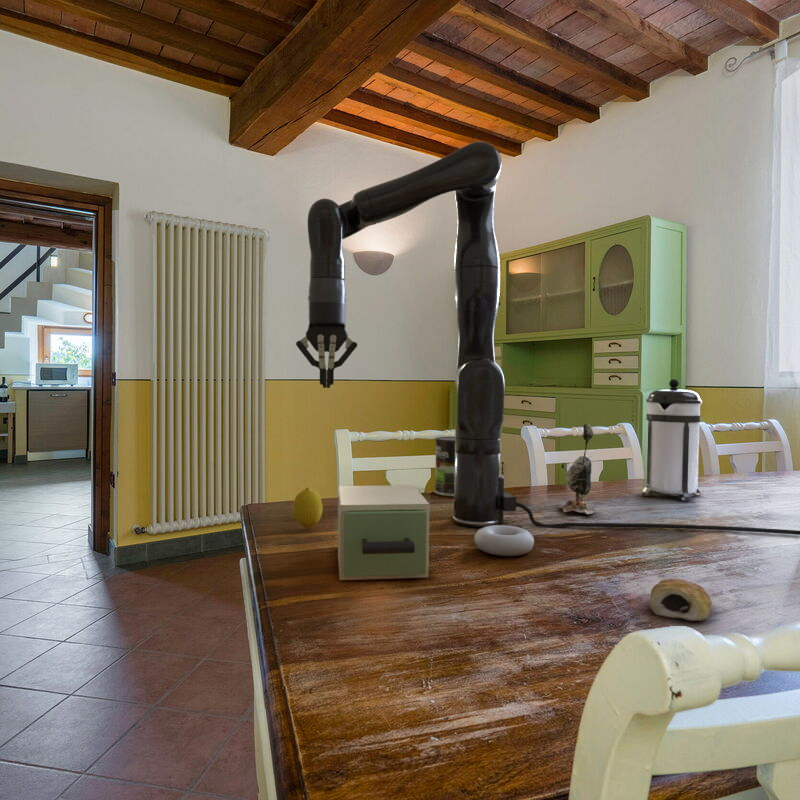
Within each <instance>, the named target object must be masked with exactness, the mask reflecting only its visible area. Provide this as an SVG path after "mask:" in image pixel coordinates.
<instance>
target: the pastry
mask: <svg viewBox="0 0 800 800" xmlns="http://www.w3.org/2000/svg"><path fill="white" fill-rule="evenodd" d="M647 603H648V606H649V608H650V609H651V611H652V613H654V614H655V615H657V616H661V617H665V618H672V619H682V620H685V621H691V622H692V621H693V622H695V621H698V622H702V621H704V620H707V619H708V618H709V616H710V615H711V613H712V604H713V602H712V600H711V596H710V595H709V594H708V593H707V592H706V590H705V589H704V587H702V585H699V584H697V583H694V582H692V581H688V580H686V579H680V578H669V579H661V580H660V581H658V583H657V584H655V585H654V586H653V587H652V588H651V591H650V599H649V600H648V602H647Z"/></svg>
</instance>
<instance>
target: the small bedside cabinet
mask: <svg viewBox="0 0 800 800" xmlns="http://www.w3.org/2000/svg"><path fill="white" fill-rule="evenodd" d="M337 487H338V496H337V498H338V501H337V505H338V506H337V508H338V509H337V558H338V573H339V581H356V580H357V581H358V580H388V579H390V580H391V579H392V580H393V579H418V578H419V579H420V578H423V579H425V578H427V579H428V578H429V557H430V555H429V554H430V553H429V552H430V551H429V549H430V547H429V546H430V545H429V544H430V503H429V501H427V499H426V498H425V496H423V495H422V493H421V492H420V491H419V489H418V488H417V487H416V486H415V485H413V484H408V485H407V484H403V485H402V484H401V485H400V484H399V485H397V484H396V485H394V484H392V485H390V484H389V485H338V486H337ZM381 510H425V511H426V512H427V520H426V574H405V575H372V576H344V532H345V512H347V511H381Z"/></svg>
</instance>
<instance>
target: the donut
mask: <svg viewBox="0 0 800 800" xmlns="http://www.w3.org/2000/svg"><path fill="white" fill-rule="evenodd" d="M473 540H474V543H475V546H476V547H477V548H478V549H479V550H480V551H482V552H484V553H487V554H489V555H494V556H500V557H517V556H523V555H526V554H528V553H529V552H530V551H531V550H532V549H533V547H534V545H535V538H534V536H533V535H532V534H531V532H530V531H529V530H526V529H525V528H522V527H518V526H514V525H506V524H505V525H504V524H498V525H494V526H487V527H480V528H479V529H478V530H477V532H475V535H474V539H473Z"/></svg>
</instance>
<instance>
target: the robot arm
mask: <svg viewBox="0 0 800 800" xmlns="http://www.w3.org/2000/svg"><path fill="white" fill-rule="evenodd" d="M501 171H502V157H501V154H500V152H499V150H498V149H497V148H496V147H495V146H494V145H493V144H491V143H490V142H486V141H474V142H473V141H472V142H470V143H468V144H466V145H464V146H462V147H460V148H458V149H457V150H455V151H453V152H451V153H449V154H447V155H445V156H444V157H442V158H440V159H438V160H435V161H434V162H432V163H429V164H428V165H425V166H423V167H421V168H419V169H417V170H415V171H412V172H410V173H407V174H405V175H402V176H399V177H396V178H394V179H390V180H388V181H385V182H383V183H382V182H381V183H378V184H376V185H372V186H370V187H367V188H364V189H361V190H360V191H357V192H356V193H354V194H353V197H352V199H351V200H348V201H346V202H343V203H341V204H338V203H337V202H336V201H334V200H332V199H329V198H321V199H318V200H316V201H314V202H313V203H312V204H311V206H310V208H309V209H308V213H307V235H308V245H309V252H310V263H309V285H308V286H309V287H308V297H307V301H308V317H307V318H308V319H307V320H308V324H307V325H308V326H307V330H306V332H305V336H304V337H303V338H301V339H300V340H297V341H296V342H295V345H296V347H297V349H298V350H299V351H300V352H301V353H302V355H304V357H305V358H306V360H307V362H308V363H309V364H310V365H311V366H312V367H315V368H318V370H319V385H320V386H322V388H323V389H330V388H331V386H332V385H334V382H335V381H334V379H335V378H334V377H335V374H334V373H335V369H337V368H339V367H342V366H343V364H345V362H346V361H347V360H348V358H349V357H350V356H351V354H353V352H354V351H355V350H356V348H357V347H358V343H357V342H356V341H353V340H352V339H351V338H350V337H349V334H348V331H347V329H346V321H347V319H346V312H347V310H346V309H347V306H346V305H347V292H346V281H345V280H346V279H345V277H346V264H345V263H346V262H345V255H344V253H343V240H345V239H347V238H349V237H351V236H353V235H355V234H357V233H359V232H361V231H362V230H365V229H366V228H368V227H370V226H374V225H377V224H381V223H384V222H387V221H389V220H392V219H394V218H397V217H400V216H402V215H404V214H407V213H408V212H410V211H411V210H413V209H415V208H418V207H419V206H420V205H423V204H424V203H426V202H428V201H429V200H432V199H434V198H436V197H439V196H441V195H444V194H447V193H450V192H451V193H452V192H454V196H455V203H456V214H457V231H456V239H455V240H456V241H455V247H454V248H455V249H454V263H453V264H454V265H453V266H454V268H453V270H454V271H453V272H454V275H453V276H454V281H453V282H454V283H453V284H454V301H455V303H454V304H455V313H456V323H457V324H456V325H457V331H458V333H457V334H458V346H457V358H456V360H457V361H456V368H455V375H454V386H455V390H456V392H457V394H456V395H457V396H456V398H457V399H456V420H455V425H454V434H455V435H454V437H455V480H454V497H453V517H452V518H453V519H452V520H453V522H454V523H455V524H458V525H461V526H463V527H464V526H465V527H472V528H484V527H487V526H494V525H504V512H516V511H517V507H518V508H520V509H523V510H524V511H525V512H526V513H527V514H528V517H529V521H530V522H531V523H532V524H533V525H535V526H537V527H541V528H569V527H570V528H571V527H574V528H639V529H640V528H643V529H645V528H646V529H677V530H678V529H679V530H681V529H682V530H708V531H729V532H731V531H732V532H747V533H749V532H751V533H765V534H780V535H781V534H783V535H793V536H794V535H795V536H796V535H797V536H800V530H796V529H781V528H780V529H779V528H765V527H751V526H750V527H749V526H748V527H747V526H730V525H729V526H728V525H708V524H707V525H705V524H681V523H680V524H679V523H678V524H677V523H640V522H638V523H636V522H635V523H634V522H633V523H632V522H626V523H625V522H560V523H549V524H548V523H542V522H539V521H538V520H535V518H534V514H533V511H532V510H531V509H530V507H528V506H527V505H525V504H523V503H522V502H521V503H520V502H519V501H517V496H515V495H513V494H511V493H509V492H507V491H506V492H505V477H504V476H503V475H501V466H502V465H501V458H502V453H501V452H502V429H503V426H504V425H503V424H504V416H505V414H504V412H505V391H506V389H505V385H506V384H505V376H504V373H503V371H502V368H501V367H500V366H499V365H498V363H496V358H495V343H494V342H495V341H494V340H495V338H494V337H495V329H496V321H497V316H498V312H499V311H498V310H499V304H500V295H501V262H500V254H499V253H500V252H499V248H498V241H497V237H496V233H495V227H494V226H495V225H494V207H495V196H496V188H497V183H498V181H499V177H500V174H501ZM308 342H309V343H310V345H311V346H312V348H313V349H314V351H315V352H318V360H316V359H315V358H314V357H313V355H312V354H311V352H310V351H309V350H308V348H309V344H308ZM344 343H345V345H344ZM343 345H344V349H346V350H345V351H344V352H343V353H342V355H341V356H340V357H339V358H338V360H335V358H336V353H337V352H338V351H339V350H340V349H341V347H342V346H343ZM326 353H328V358H327V359H328V360H327V366H326V355H325V354H326Z"/></svg>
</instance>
